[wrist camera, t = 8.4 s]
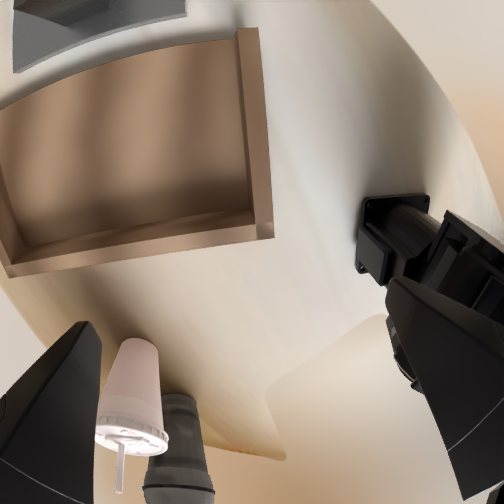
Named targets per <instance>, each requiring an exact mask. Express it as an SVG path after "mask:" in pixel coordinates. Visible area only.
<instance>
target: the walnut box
mask: <svg viewBox="0 0 504 504" xmlns="http://www.w3.org/2000/svg"><path fill="white" fill-rule="evenodd" d="M270 238H274V221H273V204H272V188H271V173H270V159H269V145H268V132H267V119H266V106H265V95H264V83H263V72H262V61H261V51H260V41H259V31H258V28H237V30H236V33H235V35H234V38H233V39H224V40H214V41H206V42H198V43H191V44H185V45H179V46H174V47H168V48H163V49H158V50H154V51H149V52H145V53H141V54H137V55H133V56H129V57H126V58H122V59H119V60H115V61H112V62H109V63H106V64H102V65H99V66H96V67H94V68H91V69H88V70H85V71H82V72H80V73H77V74H74V75H72V76H69V77H67V78H64V79H62V80H60V81H57V82H55V83H53V84H50V85H48V86H46V87H44V88H42V89H40V90H37V91H35V92H33V93H31V94H29V95H27V96H25V97H23V98H22V99H20V100H18V101H16V102H14V103H12V104H10V105H9V106H7V107H5V108H3V109H2V110H0V260H1V262H2V265H3V267H4V269H5V271H6V273H7V275H8V277H9V278H15V277H21V276H27V275H33V274H39V273H45V272H51V271H57V270H63V269H69V268H76V267H82V266H88V265H95V264H101V263H107V262H114V261H120V260H127V259H133V258H140V257H146V256H153V255H160V254H166V253H173V252H180V251H186V250H193V249H200V248H207V247H214V246H221V245H228V244H235V243H242V242H249V241H256V240H263V239H270Z"/></svg>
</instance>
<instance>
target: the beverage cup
mask: <svg viewBox="0 0 504 504" xmlns="http://www.w3.org/2000/svg"><path fill="white" fill-rule="evenodd" d="M161 406H162V416H163V427H164V431H165V432H166V433H167V435H168V438H169V440H168V449H167V450H166V451H165V452H164V453H162V454H159V455H154V456H149V464H148V470H147V472H146V475H145V479H144V486H143V487H142V488H143V491H144V497H145V501H146V503H147V504H214V495H215V491H214V490H213V484H212V481H211V478H210V476H209V474H208V471H207V465H206V460H205V454H204V448H203V441H202V435H201V428H200V422H199V414H198V411H197V407H196V401H195V400H194V399H193V398H191V397H189V396H187V395H183V394H175V393H173V394H166V395H163V396H162V397H161Z"/></svg>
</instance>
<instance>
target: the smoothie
mask: <svg viewBox="0 0 504 504" xmlns="http://www.w3.org/2000/svg"><path fill="white" fill-rule="evenodd" d="M168 440H169V438H168V435H167V433H166V432H165V431H164V427H163V416H162V406H161V394H160V380H159V361H158V350H157V348H156V347H155V346H154V345H153V344H152V343H150V342H149V341H146V340H144V339H140V338H129V339H126V340H124V341H123V342H122V344H121V346H120V348H119V351H118V353H117V356H116V358H115V361H114V363H113V366H112V368H111V371H110V373H109V376H108V378H107V381H106V384H105V386H104V389H103V392H102V394H101V397H100V400H99V402H98V410H97V420H96V432H95V441H96V442H97V443H99V444H100V445H102V446H104V447H106V448H109V449H111V450H114V451H117V452H118V454H117V466H116V481H115V492H117V493H123V472H124V457H125V454H129V455H137V456H154V455H159V454H162V453H164V452H165V451H166V450H167V449H168Z"/></svg>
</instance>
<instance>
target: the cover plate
mask: <svg viewBox="0 0 504 504" xmlns="http://www.w3.org/2000/svg"><path fill="white" fill-rule="evenodd" d="M13 9H14V21H13V73H21V72H23V71H25V70H27V69H29V68H31V67H33V66H35V65H37V64H39V63H41V62H43V61H45V60H47V59H49V58H51V57H53V56H55V55H58V54H60V53H62V52H65V51H67V50H69V49H72V48H74V47H77V46H79V45H82V44H85V43H87V42H90V41H93V40H96V39H98V38H101V37H104V36H108V35H111V34H114V33H117V32H121V31H124V30H128V29H131V28H135V27H139V26H143V25H147V24H152V23H156V22H161V21H166V20H171V19H177V18H183V17H187V15H186V1H185V0H14V7H13Z"/></svg>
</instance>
